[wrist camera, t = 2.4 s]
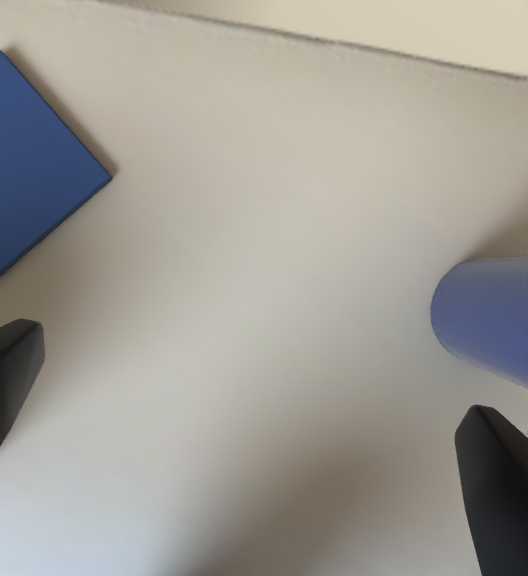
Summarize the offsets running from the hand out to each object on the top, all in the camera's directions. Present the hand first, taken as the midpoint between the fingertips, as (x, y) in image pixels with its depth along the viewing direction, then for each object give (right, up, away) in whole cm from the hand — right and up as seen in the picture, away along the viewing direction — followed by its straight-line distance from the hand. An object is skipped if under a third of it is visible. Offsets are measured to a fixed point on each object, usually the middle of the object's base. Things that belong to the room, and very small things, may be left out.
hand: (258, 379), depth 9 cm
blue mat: (-14, +8, +15) cm, 22 cm away
